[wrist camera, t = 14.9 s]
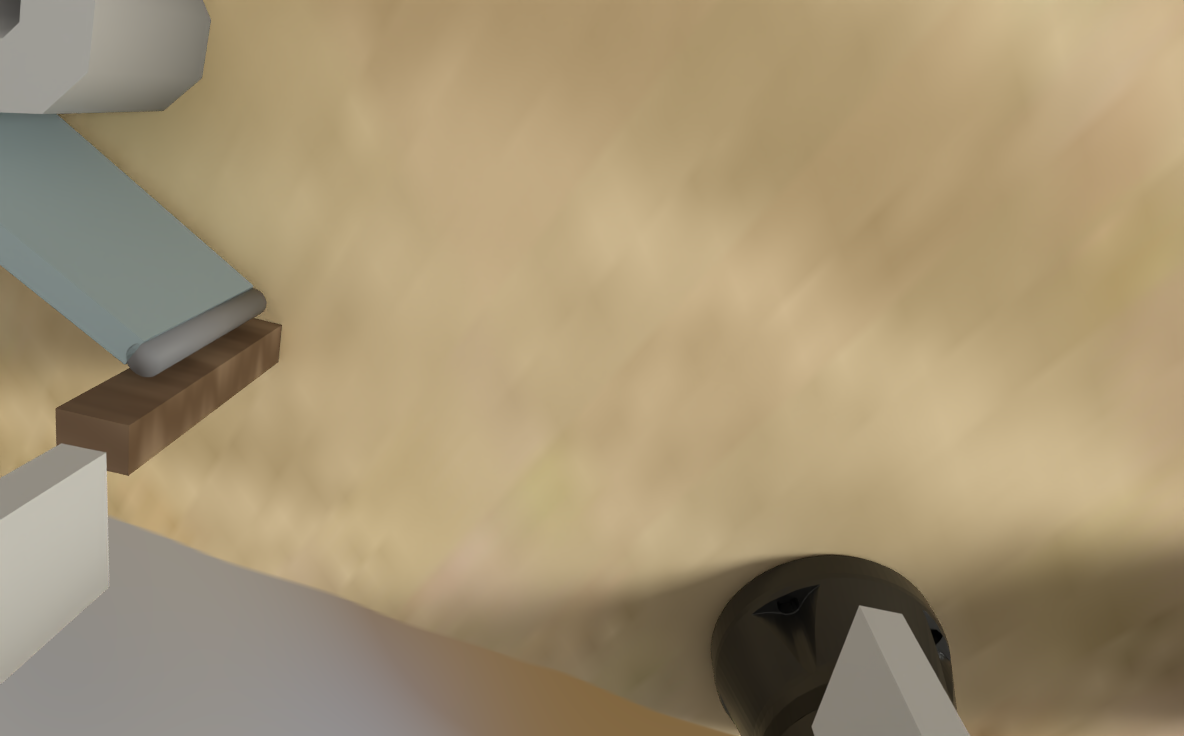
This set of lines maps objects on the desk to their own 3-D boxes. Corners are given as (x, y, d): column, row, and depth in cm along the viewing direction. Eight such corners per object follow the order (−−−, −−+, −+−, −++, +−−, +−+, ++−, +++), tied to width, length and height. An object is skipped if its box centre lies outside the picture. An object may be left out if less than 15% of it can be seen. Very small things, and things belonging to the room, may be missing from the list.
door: (271, 301, 41) (168, 361, 32) (239, 338, 42) (129, 406, 33) (-72, 2, 37) (-312, -31, 27) (-101, 50, 37) (-342, 34, 28)
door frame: (278, 362, 43) (128, 475, 30) (228, 350, 43) (56, 459, 30) (350, -390, 31) (148, -749, 18) (281, -410, 31) (26, -787, 18)
